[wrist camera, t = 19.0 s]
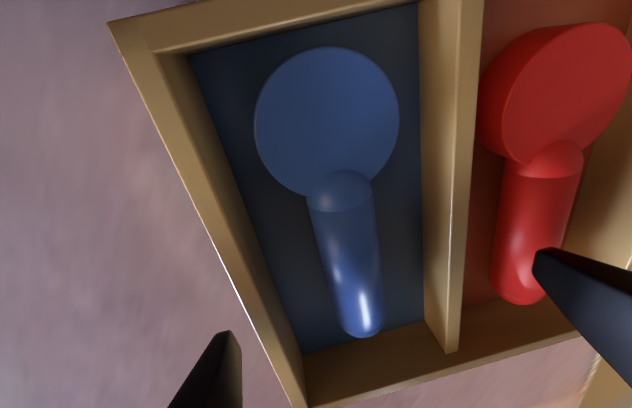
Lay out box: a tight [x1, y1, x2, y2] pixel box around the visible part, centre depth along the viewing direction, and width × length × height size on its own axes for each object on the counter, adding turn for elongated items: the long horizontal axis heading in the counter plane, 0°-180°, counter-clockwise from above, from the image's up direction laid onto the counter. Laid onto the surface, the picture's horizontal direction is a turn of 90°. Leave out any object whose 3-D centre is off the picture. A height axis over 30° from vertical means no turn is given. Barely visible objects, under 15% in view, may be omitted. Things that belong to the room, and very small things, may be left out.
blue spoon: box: [253, 46, 400, 338], centre depth 9 cm, size 10×4×2 cm, turn 12°
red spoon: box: [475, 22, 632, 305], centre depth 10 cm, size 10×4×2 cm, turn 12°
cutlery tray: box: [106, 0, 632, 408], centre depth 10 cm, size 14×14×3 cm
